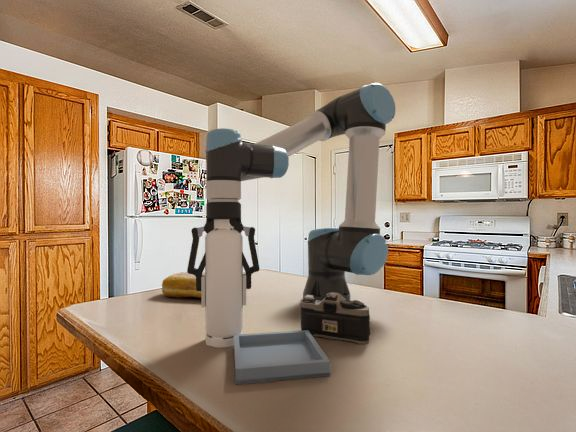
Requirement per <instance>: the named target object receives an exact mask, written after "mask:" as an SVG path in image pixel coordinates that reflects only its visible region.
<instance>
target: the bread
mask: <svg viewBox="0 0 576 432" xmlns="http://www.w3.org/2000/svg"><path fill="white" fill-rule="evenodd" d="M202 275H205V272H204V271H203V272H202ZM161 292H162V294H163V295H164V296H165V297H168V298H174V297H175V298H177V299H178V298H179V299H182V298H183V299H184V298H185V299H186V298H199V299H201V291H197V290H196V276H195V275H193V274H188V273H187V271H185V272H184V271H183V272H177V273H173V274H171V275H168V277H167V276H166V278H164V279H163V280H162V284H161Z"/></svg>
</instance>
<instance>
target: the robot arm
mask: <svg viewBox="0 0 576 432" xmlns="http://www.w3.org/2000/svg"><path fill="white" fill-rule="evenodd" d="M395 115H396V103H395V100H394V97H393V95H392V94H391V91H390V90H389V89H388V88H387V86H385V85H383V84H381V83H379V82H374V83H370V84H366V85H362V86H361V87H360V88H357V89H353V90H352V91H349V92H347V93H345V94H342V95H340V96H338V97H336V98H334V99H333V100H331V101H330V102H327V104H325V105H323V106H321V107H320V108H318V109H317V110H314V111H313V112H311V113H310V114H309V115H308V117H307V118H305V119H303V120H301V121H298V122H297V123H295V124H293V125H291V126H288V127H286V128H285V129H282V130H280V131H279V132H276V133H274V134H272V135H270V136H268V137H266V138H264V139H261V140H260V141H257V142H255V143H250V142H245V141H242V136H241V135H242V133H241V132H239V131H238V130H235V129H233V128H225V127H224V128H222V127H221V128H213V129H211V130H209V131H208V132H207V134H206V140H205V142H206V143H205V166H206V167H205V169H206V181H205V193H206V194H205V199H207V200H208V202H207V203H206V204H205V205H206V207H205V210H206V211H205V212H206V213H205V215H206V218H205V223H204V226H201V227H197V226H196V227H192V229H191V235H192V243H191V246H190V247H191V248H190V254H189V259H188V263H187V269H186V270H187V271H186V272H187V273H188V274H193V275H195V276H196V290H197V291H201V298H200V299H201V301H200V302H201V308H205V275H202V273H204V271H205V266H206V252H205V251H204V254H203V255H202V259H201V261H200V263H199V266H198V268H196V262H197V261H196V260H197V254H198V250H199V249H198V248H199V245H200V238H201V237H203V233H204V232H205V233H206V234H207V233H209V232H210V231H212V230H214V219H229V222H230V225H231V226H232V227H234V230H236V231H238V232H239V233H241V234H242V232H244V234H245V236H246V237H247V241H248V247H249V251H250V257H251V262H252V265H251V266H250V265H249V263H248V261H247V259H246V256H245V254H244V252H242V265H243V269H244V270H243V271H244V272H245V273H244V272H243V306H247V290H251V288H252V275H253V274H255V273H256V272H259V271H260V264H259V258H258V253H257V247H256V241H255V235H256V233H255V232H256V228H255V227H253V226H246V225H245V226H244V224H243V223H242V204H241V202H240V200H242V182H244V181H251V180H257V179H262V178H270V179H276V178H277V179H279V178H282V177H284V176H285V175H286V174H287V171H288V169H289V161H290V160H289V159H290V158H289V157H290V156H293V155H294V154H296V153H298V152H300V151H303V150H304V149H305V148H308V147H309V146H312V145H314V144H315V143H317V142H325V141H327V140H329V139H332V138H335V137H339V136H343V135H345V136H346V137H347V138H348V139H349V141H348V156H347V157H348V159H347V172H346V173H347V176H346V178H347V179H346V191H345V192H346V193H345V208H344V209H345V210H344V212H345V213H344V221H342V222H341V223H340V224H339V225H338V227H335V226H334V227H324V228H315V229H311V230H310V231H309V233H308V238H307V260H308V261H307V262H308V263H307V265H308V266H307V268H308V273H307V274H308V275H307V279H306V282H305V285H304V289H303V291H302V300H303V299H304V297H305V296H306V295H312V296H313V297H314V299H315V300H319V301H322V300H323V299H324V298H326V295H327V294H328V293H331V292H334V293H339V294H341V295H342V296H343V297H344V298H345V299H346V300H349V301H351V291H350V289H349V286H348V283H347V282H348V281H347V279H346V276H345V274H346V273H351V274H355V275H357V276H372V275H375V274H376V273H378V272H379V271H381V269H382V268H383V267H384V266H385V264H386V261H387V259H388V257H389V256H388V255H389V247H388V245H389V244H388V242H387V240H386V238H385V237H384V236H383V235H381V227H380V226H379V225H378V224H377V222H376V210H377V193H378V192H377V191H378V173H379V157H380V155H379V154H380V141H381V139H382V138H383V137H384V136H385V135H386V127H387V124H389V123H390V122H392V121H393V119H394V118H395ZM230 229H231V228H230ZM215 230H218V228H217V229H215ZM231 230H232V229H231Z"/></svg>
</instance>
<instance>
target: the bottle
mask: <svg viewBox="0 0 576 432" xmlns="http://www.w3.org/2000/svg"><path fill="white" fill-rule="evenodd" d="M217 228H218V230H215V229H217ZM230 228H231V229H232V230H231V229H230ZM243 239H244V238H243V234H242V232H241V233H239V232H238V231H236V230H234V227H232V226H231V225H230V222H229V219H214V230H212V231H210V232H209V233H206V234H205V236H204V242H205V243H204V250H205V251H204V253H205V252H206V266H205V268H204V271H205V307H204V309H205V316H204V317H205V344H206V345H207V346H209V347H211V346H212V348H230V347H234V335H238V334H244V332H243V328H244V325H243V324H244V311H243V310H244V307H243V306H244V305H243V273H244V272H243V271H244V270H243V269H244V268H243V265H242V252H243V251H244V250H243V245H244V243H243ZM243 253H244V252H243Z"/></svg>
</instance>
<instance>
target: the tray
mask: <svg viewBox="0 0 576 432" xmlns="http://www.w3.org/2000/svg"><path fill="white" fill-rule="evenodd" d="M233 338H234V346H233V355H234V358H233V359H234V377H235V378H234V379H235V380H234V381H235V385H247V384H256V383H266V382H267V383H268V382H277V381H289V380H300V379H301V380H302V379H311V378H313V379H314V378H321V377H330V376H331V361H330V359H329V358H328V356H327V355H326V353H325V351H324V350H323V349H322V348H321V345H319V343H318V342H317V340H316V338H315V337H314V336H312V335H311V333H310V332H309V330H301V329H300V330H288V331H287V330H284V331H272V332H271V331H269V332H268V331H267V332H257V333H256V332H255V333H253V332H252V333H243V334H238V335H234V336H233Z"/></svg>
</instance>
